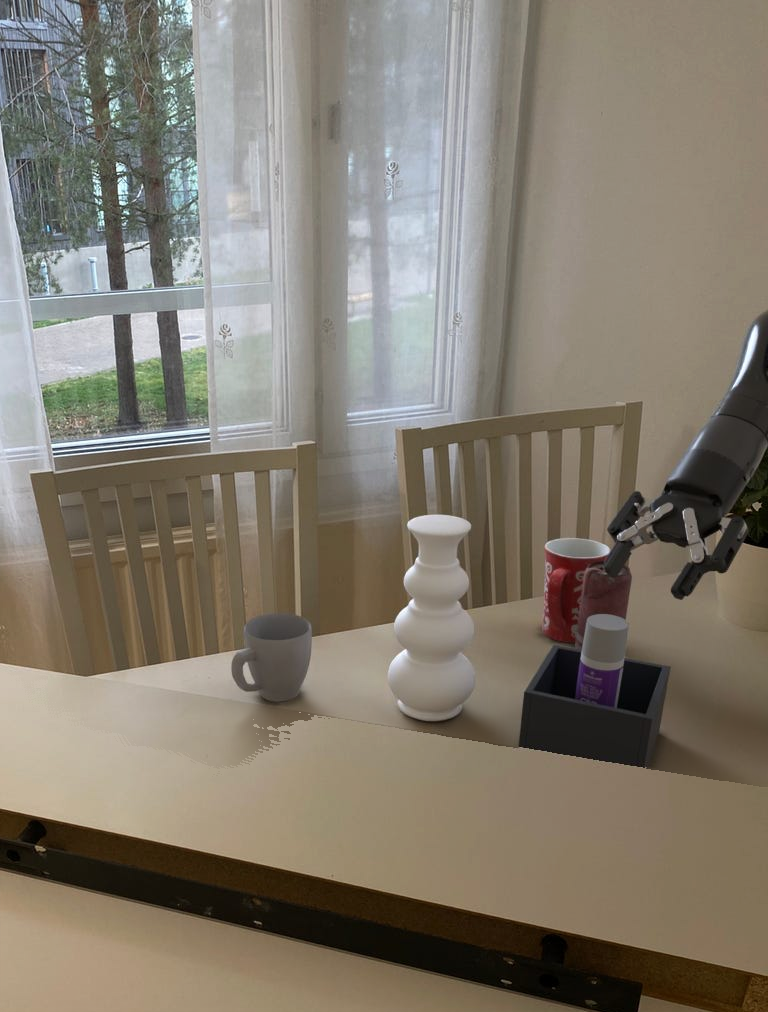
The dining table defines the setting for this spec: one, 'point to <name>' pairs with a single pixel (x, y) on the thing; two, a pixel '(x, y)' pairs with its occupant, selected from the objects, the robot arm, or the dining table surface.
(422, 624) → the vase
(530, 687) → the bin
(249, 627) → the mug
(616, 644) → the container
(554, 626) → the mug
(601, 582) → the can
